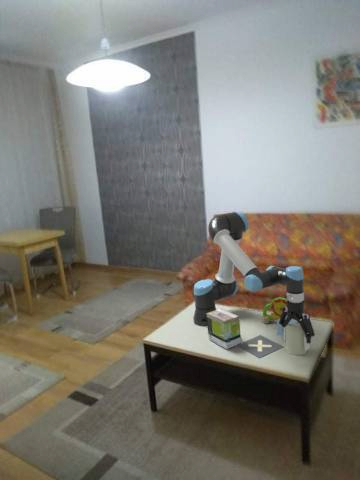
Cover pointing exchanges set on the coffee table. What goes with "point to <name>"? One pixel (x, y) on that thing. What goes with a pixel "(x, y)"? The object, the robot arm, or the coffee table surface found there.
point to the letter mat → (260, 346)
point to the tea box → (224, 328)
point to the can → (295, 339)
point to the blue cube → (280, 328)
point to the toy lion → (276, 307)
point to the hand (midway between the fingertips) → (296, 344)
